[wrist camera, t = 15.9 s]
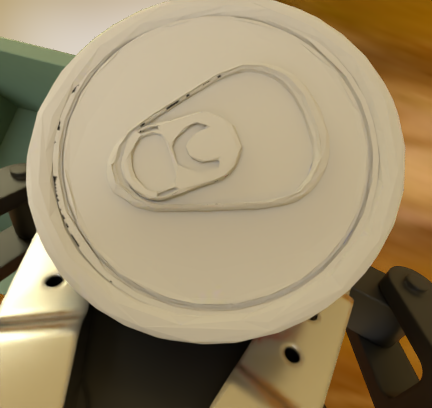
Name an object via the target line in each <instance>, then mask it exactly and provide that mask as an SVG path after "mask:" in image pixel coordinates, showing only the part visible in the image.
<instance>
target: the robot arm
mask: <svg viewBox="0 0 432 408" xmlns="http://www.w3.org/2000/svg"><path fill="white" fill-rule="evenodd" d="M26 166H27V163H18V164H13V165H9V166H6V167H3V168H1V169H0V216H1V215H3V214H5V213H7V212H8V213H9V216H10V219H11V222H12V226H10V227H9V228H7V229H5V230H3V231H2V232H0V282H1V281H2V280H4V279H5V278H7V277H8V276H9V275H11V274H12V273H14V272H15V271H17V272H16V274H15V276H14V278H13V280H12V283H11V285H10V287H9V289H8V291H7V293H6V295H5V297H4V299H3V301H2V303H1V305H0V408H326V406H325V404H324V401H325V398H326V395H327V391H328V388H329V385H330V381H331V378H332V374H333V371H334V368H335V364H336V361H337V358H338V354H339V351H340V347H341V344H342V341H343V337H344V334H345V330H346V332H347V335H348V338H349V340H350V343H351V345H352V348H353V351H354V353H355V356H356V359H357V361H358V364H359V367H360V369H361V372H362V375H363V377H364V380H365V382H366V385H367V388H368V390H369V393H370V396H371V398H372V401H373V404H374V406H375V408H432V283H431V282H430V281H429V280H428V279H427V278H425V277H424V276H422V275H421V274H419V273H418V272H416V271H414V270H411V269H409V268H406V267H402V266H394V267H392V268H391V269H390V270H389V271H388V272H387V273H386V274H385V273H383V272H381V271H379V270H377V269H375V268H373V267H371V266H370V267H369V268H368V270H367V271H366V273H365V274H364V275H363V276H362V277H361V278H360V279H359V280H358V281H357V282H356V283H355V284H354V285H353V286H352V287H351V289H350V290H349V291H347V292H346V293H345V294H344V295H342V296H341V297H340V298H338V299H337V300H336V301H335V302H333V303H332V304H331V305H330V306H328V307H327V308H325V309H324V310H322V311H321V312H319V313H318V314H316V315H314V316H313V317H311V318H310V319H308V320H306V321H304V322H301V323H299V324H297V325H295V326H292V327H290V328H288V329H286V330H283V331H281V332H279V333H275V334H271V335H267V336H263V337H258V338H254V339H250V340H246V341H242V342H237V343H221V344H197V343H189V342H180V341H172V340H167V339H162V338H157V337H154V336H152V335H149V334H146V333H144V332H141V331H138V330H135V329H133V328H130V327H127V326H125V325H123V324H121V323H120V322H118V321H116V320H115V319H113V318H111V317H110V316H108V315H106V314H105V313H103V312H101V311H100V310H98V309H96V308H95V307H94V306H93V305H91V304H90V303H89V302H88V301H87V300H85V299H84V298H83V297H82V296H81V295H80V294H78V293H77V292H76V291H75V290H74V289H73V288H72V287H71V286H70V285H69V283H68V282H67V281H66V280H65V279H64V278H63V277H62V276H61V275H60V273H59V272H58V270H57V268H56V267H55V265H54V264H53V262H52V260H51V259H50V257H49V256H48V254H47V253H46V251H45V249H44V247H43V244H42V242H41V240H40V238H39V235H38V232H37V229H36V226H35V223H34V220H33V217H32V214H31V210H30V207H29V203H28V196H27V188H26ZM405 335H406V337H407V338H408V340H409V342H410V344H411V345H412V347H413V349H414V351H415V353H416V354H417V356H418V358H419V360H420V362H421V365H422V370H423V374H422V378H421V380H420V381H419V379H418V377H417V375H416V373H415V371H414V369H413V367H412V365H411V364H410V362H409V360H408V358H407V356H406V354H405V352H404V350H403V348H402V347H401V345H400V343H399V340H400V339H401V338H402V337H403V336H405Z"/></svg>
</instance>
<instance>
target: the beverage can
mask: <svg viewBox="0 0 432 408" xmlns="http://www.w3.org/2000/svg"><path fill="white" fill-rule="evenodd" d="M404 175H405V144H404V139H403V135H402V130H401V125H400V121H399V116H398V113H397V110H396V107H395V104H394V101H393V99H392V97H391V95H390V93H389V91H388V89H387V87H386V85H385V83H384V82H383V80H382V79H381V77H380V76H379V75H378V73H377V72H376V70H375V69H374V68H373V66H372V65H371V63H370V62H369V60H368V59H367V58H366V56H365V55H364V54H363V53H362V52H361V51H359V50H358V49H357V48H356V47H355V46H354V45H353V44H352V43H351V42H350V41H349V40H348V39H347V38H346V37H345V36H344V35H343V34H341V33H340V32H338V31H337V30H335V29H334V28H332V27H331V26H329V25H328V24H326V23H325V22H323V21H322V20H320V19H319V18H317V17H315V16H313V15H311V14H308V13H306V12H304V11H302V10H300V9H298V8H295V7H292V6H289V5H286V4H283V3H280V2H277V1H273V0H169V1H166V2H163V3H160V4H158V5H154V6H151V7H149V8H146V9H143V10H140V11H138V12H136V13H134V14H132V15H131V16H129V17H127V18H125V19H123V20H121V21H119V22H118V23H116V24H114V25H112V26H111V27H110V28H108V29H107V30H105V31H104V32H102V33H101V34H100V35H98V36H97V37H95V38H94V39H93V40H92V41H91V42H90V43H89V44H88V45H86V46H85V47H84V48H83V49H82V50H81V51H80V52H79V53H78V54H77V55H76V56H75V57H74V58H73V59H72V61H71V62H70V63H69V64H68V65H67V66H66V67H65V68H64V69H63V70H62V71H61V73H60V75H59V76H58V78H57V79H56V81H55V82H54V84H53V86H52V87H51V89H50V91H49V93H48V95H47V96H46V98H45V100H44V102H43V103H42V105H41V107H40V109H39V111H38V113H37V117H36V121H35V125H34V129H33V133H32V137H31V141H30V144H29V149H28V154H27V166H26V188H27V196H28V203H29V207H30V210H31V214H32V217H33V220H34V223H35V226H36V229H37V232H38V235H39V238H40V240H41V242H42V244H43V247H44V249H45V251H46V253H47V254H48V256H49V257H50V259H51V260H52V262H53V264H54V265H55V267H56V268H57V270H58V272H59V273H60V275H61V276H62V277H63V278H64V279H65V280H66V281H67V282H68V283H69V285H70V286H71V287H72V288H73V289H74V290H75V291H76V292H77V293H78V294H80V295H81V296H82V297H83V298H84V299H85V300H87V301H88V302H89V303H90V304H91V305H93V306H94V307H95V308H96V309H98V310H100V311H101V312H103V313H105V314H106V315H108V316H110V317H111V318H113V319H115V320H116V321H118V322H120V323H121V324H123V325H125V326H127V327H130V328H133V329H135V330H138V331H141V332H144V333H146V334H149V335H152V336H154V337H157V338H162V339H167V340H172V341H180V342H189V343H197V344H221V343H237V342H242V341H246V340H250V339H254V338H258V337H263V336H267V335H271V334H275V333H279V332H281V331H283V330H286V329H288V328H290V327H292V326H295V325H297V324H299V323H301V322H304V321H306V320H308V319H310V318H311V317H313V316H314V315H316V314H318V313H319V312H321V311H322V310H324V309H325V308H327V307H328V306H330V305H331V304H332V303H333V302H335V301H336V300H337V299H338V298H340V297H341V296H342V295H344V294H345V293H346V292H347V291H349V290H350V289H351V287H352V286H353V285H354V284H355V283H356V282H357V281H358V280H359V279H360V278H361V277H362V276H363V275H364V274H365V273H366V271H367V270H368V268H369V267H370V266H371V264H372V263H373V261H374V260H375V259H376V257H377V256H378V254H379V252H380V250H381V248H382V246H383V245H384V243H385V241H386V239H387V237H388V235H389V233H390V231H391V230H392V228H393V226H394V223H395V219H396V216H397V212H398V209H399V205H400V202H401V198H402V195H403V191H404Z"/></svg>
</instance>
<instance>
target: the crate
mask: <svg viewBox="0 0 432 408" xmlns="http://www.w3.org/2000/svg"><path fill="white" fill-rule="evenodd" d="M75 56H76V55H72V54H68V53H64V52H60V51H56V50H51V49H48V48H44V47H40V46H36V45H32V44H28V43H24V42H19V41H16V40H12V39H7V38H4V37H0V169H1V168H3V167H6V166H9V165H13V164H18V163H27V154H28V149H29V144H30V141H31V137H32V133H33V129H34V125H35V121H36V117H37V113H38V111H39V109H40V107H41V105H42V103H43V102H44V100H45V98H46V96H47V95H48V93H49V91H50V89H51V87H52V86H53V84H54V82H55V81H56V79H57V78H58V76H59V75H60V73H61V71H62V70H63V69H64V68H65V67H66V66H67V65H68V64H69V63H70V62H71V61H72V59H73V58H74V57H75ZM10 226H12V222H11V219H10V216H9V213H8V212H7V213H5V214H3V215H1V216H0V232H2V231H3V230H5V229H7V228H9V227H10ZM16 272H17V271H15V272H14V273H12V274H11V275H9V276H8V277H7V278H5V279H4V280H2V281H1V282H0V293H1V294H4V295H6V293H7V291H8V289H9V287H10V285H11V283H12V280H13V278H14V276H15V274H16Z"/></svg>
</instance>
